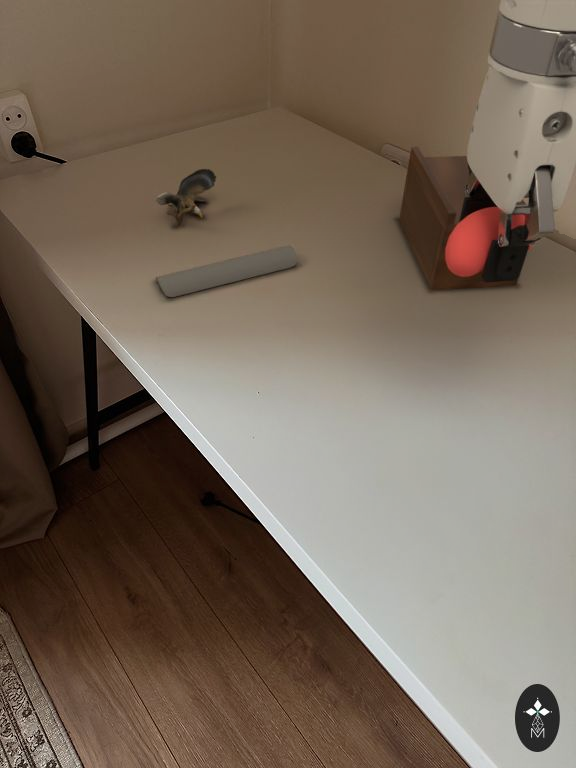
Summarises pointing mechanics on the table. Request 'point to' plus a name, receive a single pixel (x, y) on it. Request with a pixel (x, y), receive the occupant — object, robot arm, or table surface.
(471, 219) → the stress ball
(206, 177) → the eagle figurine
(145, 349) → the table surface
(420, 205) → the wooden box with backboard
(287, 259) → the gray half cylinder
